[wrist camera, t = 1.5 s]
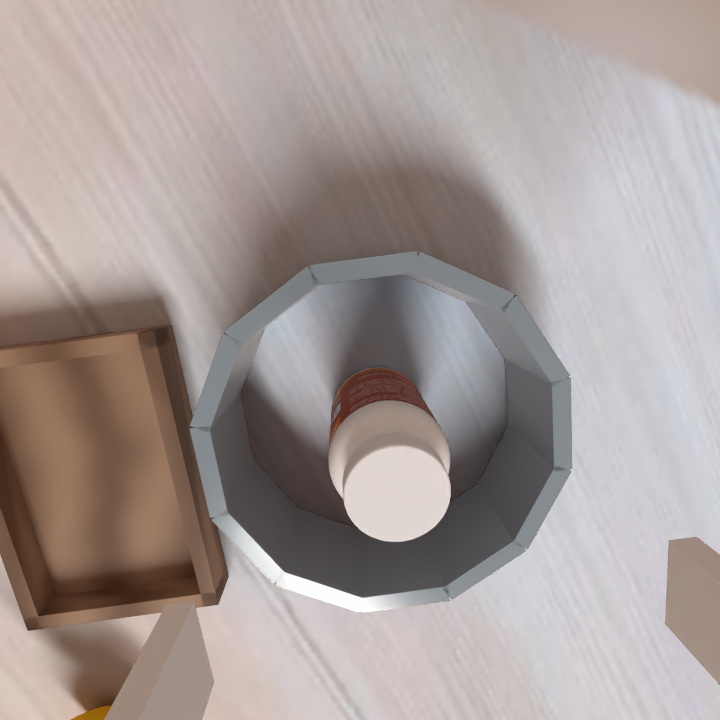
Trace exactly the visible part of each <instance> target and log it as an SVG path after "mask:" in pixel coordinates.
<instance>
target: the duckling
mask: <svg viewBox="0 0 720 720" xmlns="http://www.w3.org/2000/svg"><path fill="white" fill-rule="evenodd" d="M110 708H111V706H102V707H98V708H95V709H93V710H90V711H88V712H85V713H83V714H81V715H79V716H77V717H75V718H73V719H71V720H104V719H105V717H106V715H107V714H108V712H109V710H110Z"/></svg>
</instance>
